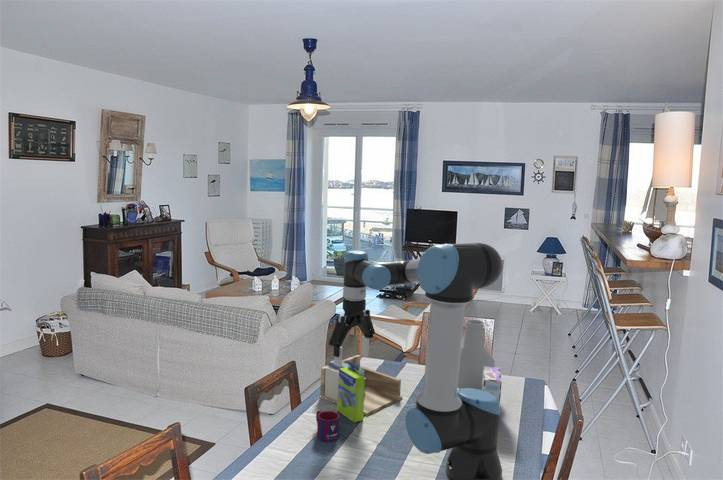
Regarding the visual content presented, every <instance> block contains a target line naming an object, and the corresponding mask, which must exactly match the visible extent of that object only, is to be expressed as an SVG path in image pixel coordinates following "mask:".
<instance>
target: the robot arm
mask: <svg viewBox="0 0 723 480" xmlns="http://www.w3.org/2000/svg"><path fill="white" fill-rule="evenodd" d="M502 271H503V261H502V257H501V256H500V254H499V252H498V251H497V249H495V248H494V247H493V246H491V245H489V244H487V243H483V242H472V243H471V242H469V243H467V242H466V243H442V244H440V245H439V244H436V245H432V246H430V247H428V248H427V249H426V250H425V251H424V252H423V253H422V254H421V255H420V258H418V259H409V260H398V261H379V262H372V261H369V255H368V253H367V251H363V250H348V251H346V252H345V255H344V262H343V285H342V287H343V289H342V297H343V299H342V310H343V311H344V314H343V315H336V316H337V317H336V322H335V325H334V327H333V330H332V333H331V337H330V339H329V343H328V345H329V346H331V347H333V358H334V359H333V360H334V365H335V366H338V367H342V360H343V346H342V344H343V343H344V341H345V339H346V337H347V336H348V333H349V332H350V331H351V330H352V329H353V328H355V327H358V329H359V330H360V331H361V333H362V335H363V336H362V337H361V354H360V356H362V357H365V358H368V357H369V358H370V346H371V339H372V338H374V335H375V334H376V331H375V328H374V325H373V321H372V318H371V312H370V309H367V308H366V306H367V304H366V303H367V302H366V301H367V300H366V297H367V288H369V289H372V290H377V291H381V290H384V289H385V288H387V287H389V286H391V287H392V286H399V285H401V286H402V285H415V284H418V285H419V286H420V288H421V289H422V291H424V292H425V293H424V294H425V295H424V296H425V298H426V299H427V300H428V301H429V303H430V304H429V305H430V307H429V316H428V317H429V319H428V320H429V321H428V328H427V329H428V331H427V341H426V342H427V343H426V352H425V353H426V354H425V366H424V377H423V389H422V390H421V392H419V393H418V394H417V396H416V402H415V407H412V408H410V409H409V410H408V411H407V412H406V415H405V428H406V431H407V435H408V437H409V439H410V441H411V443H412V445H413V446H414V447H415V448H416V449H417V451H419V452H420V453H422V454H426V455H430V454H431V455H432V454H435V453H437V454H439V453H441V452H443V451H446V450H450V449H451V450H450V451H449V454H448V457H447V459H446V463H445V473H446V475H447V476H448V477H449V479H451V480H502V479H503V477H502V476H503V468H502V465H501V464H502V463H501V460H500V457H499V453H498V442H499V440H498V439H499V428H500V419H501V418H500V417H501V412H500V411H501V401H500V402H499V400H498V399H497V397H495V396H494V395H492V394H490V393H488V392H486V391H483V390H479V389H473V388H462V389H459V388H458V376H459V366H460V355H461V346H462V345H463V331H464V322H465V312H466V311H465V310H466V306H468V305H469V304H470V303H471V302H472V301H473V296H474V295H473V294H474V293H473V292H474V290H478V289H484V288H488V287H490V286H491V285H493V284H494V283H496V281H498V279H499V278H500V276H501V274H502Z"/></svg>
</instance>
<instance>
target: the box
mask: <svg viewBox="0 0 723 480" xmlns="http://www.w3.org/2000/svg"><path fill="white" fill-rule="evenodd" d="M354 367H356V368H357V369H358V370H359V371H357V370H356V369H354ZM364 375H365V370H364V369H362V368H360V367H358V366H356V365H355V364H353V363H351V362H349V361H348V367H344V368H340V369H339V385H338V404H337V412H338V411H339V412H338V413H339V414H341V413H342V415H343V416H344V417H345V416H346V417H345V418H347V419H348V420H349V421H351V422H352V421H353V423H358V421H359V422H361V421H363V420H364V414H363V411H364Z"/></svg>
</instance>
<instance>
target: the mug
mask: <svg viewBox="0 0 723 480" xmlns="http://www.w3.org/2000/svg"><path fill="white" fill-rule="evenodd" d="M315 418H316V419H315V420H316V438H317V439H318V440H319V441H321V442H329V441H330V442H333V441H334V442H335V441H336V440H338V439H339V437H340V413H339V412H336V411H333V410H324V411H322V410H317V411H316V414H315Z"/></svg>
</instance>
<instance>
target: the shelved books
mask: <svg viewBox="0 0 723 480" xmlns="http://www.w3.org/2000/svg"><path fill="white" fill-rule="evenodd" d="M328 365H329V366H328V367H325V396H328V397H330V398H333V399H335V400H338V385H339V369H340V368H344V367H348V364H346V363H343V362H342V367H338V366H335V365H334V359H332V360H331V361H328Z"/></svg>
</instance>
